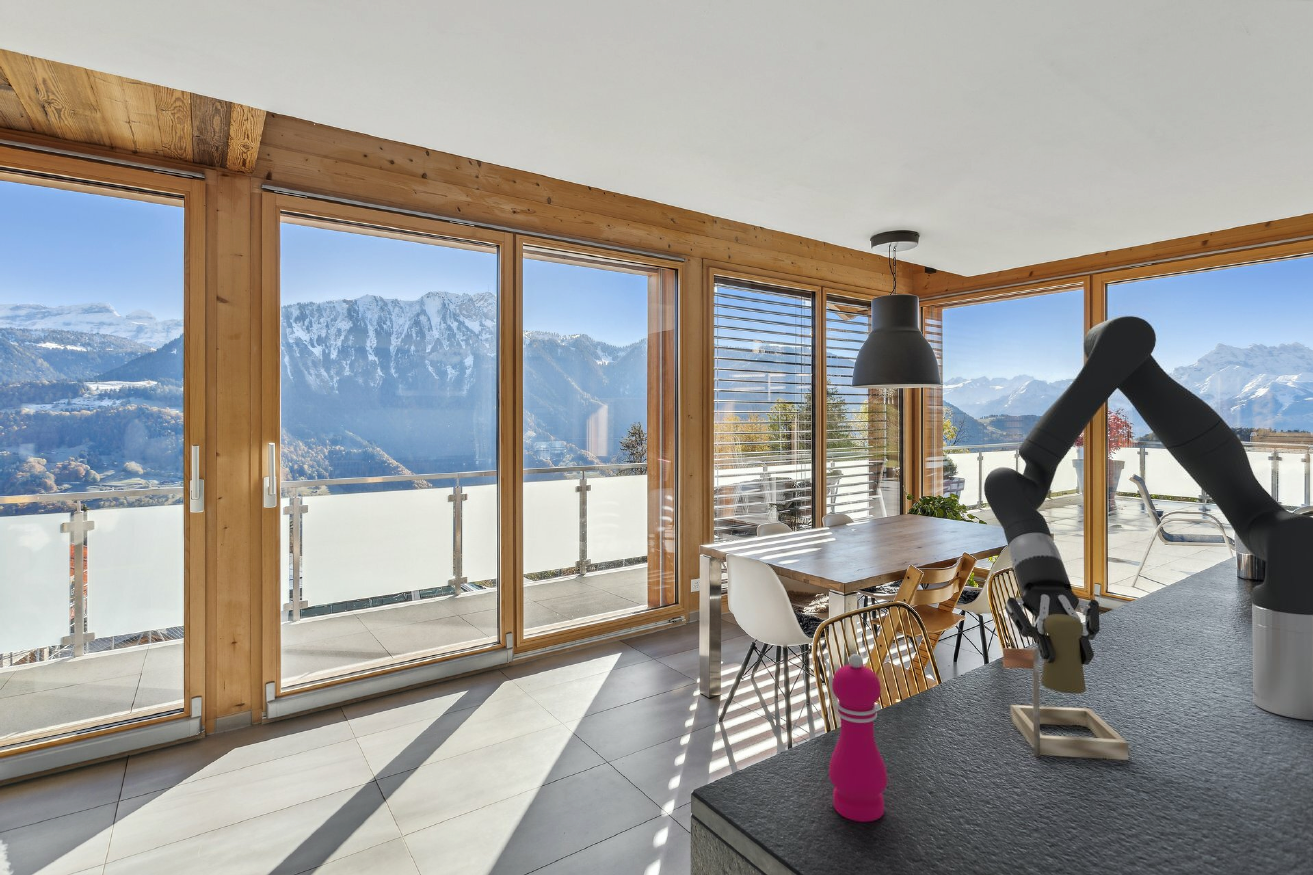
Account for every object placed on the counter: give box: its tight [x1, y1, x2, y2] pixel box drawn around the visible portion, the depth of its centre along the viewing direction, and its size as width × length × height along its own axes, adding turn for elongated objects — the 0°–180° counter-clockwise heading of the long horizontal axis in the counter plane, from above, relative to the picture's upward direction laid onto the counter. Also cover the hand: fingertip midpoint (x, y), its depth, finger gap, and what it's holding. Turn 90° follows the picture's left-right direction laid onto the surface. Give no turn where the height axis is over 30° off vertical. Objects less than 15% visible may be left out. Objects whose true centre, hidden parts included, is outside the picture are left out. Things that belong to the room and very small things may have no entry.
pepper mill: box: [828, 653, 888, 823], centre depth 86 cm, size 7×7×20 cm
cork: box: [1040, 614, 1087, 695], centre depth 104 cm, size 6×6×11 cm
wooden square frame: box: [1002, 646, 1129, 761], centre depth 104 cm, size 17×13×16 cm
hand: (1069, 661), depth 102 cm, fingers closed on cork, 4 cm apart
